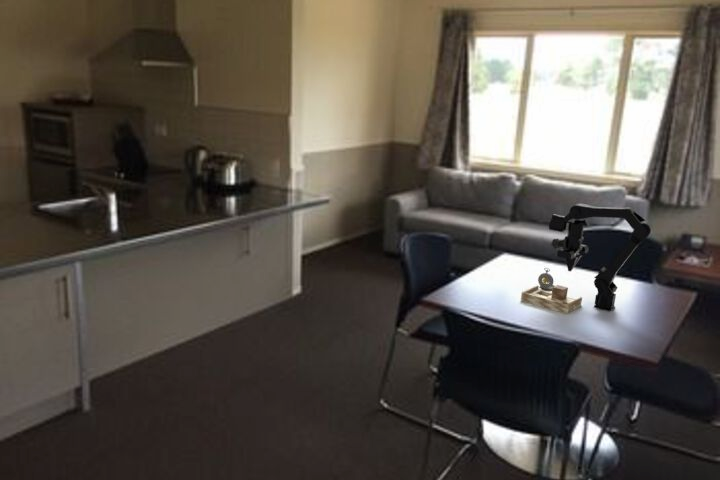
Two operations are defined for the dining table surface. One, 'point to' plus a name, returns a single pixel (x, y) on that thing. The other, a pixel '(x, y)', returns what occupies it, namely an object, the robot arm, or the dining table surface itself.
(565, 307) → the trap box
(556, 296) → the block
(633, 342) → the dining table surface
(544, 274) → the pocket watch
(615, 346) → the dining table surface
